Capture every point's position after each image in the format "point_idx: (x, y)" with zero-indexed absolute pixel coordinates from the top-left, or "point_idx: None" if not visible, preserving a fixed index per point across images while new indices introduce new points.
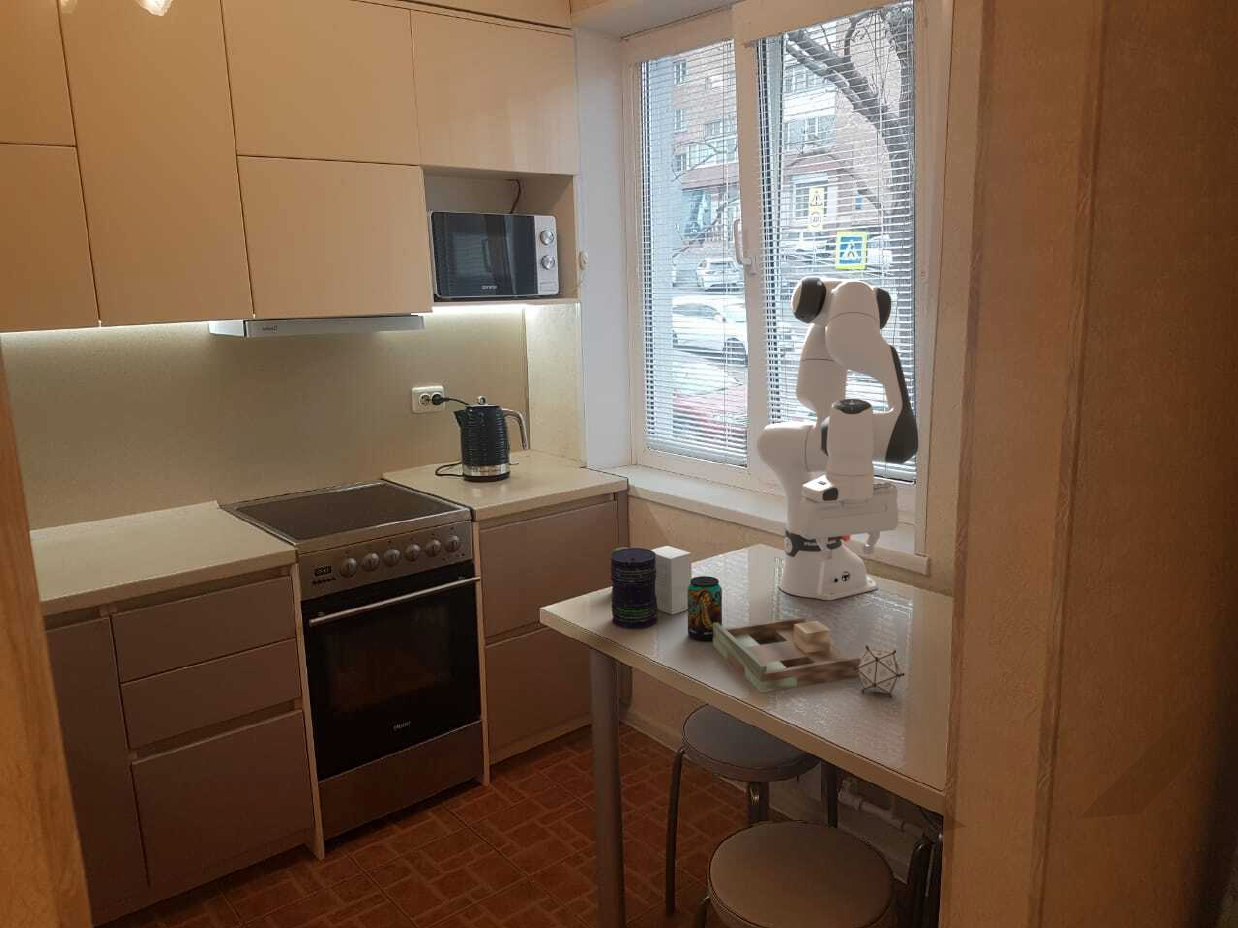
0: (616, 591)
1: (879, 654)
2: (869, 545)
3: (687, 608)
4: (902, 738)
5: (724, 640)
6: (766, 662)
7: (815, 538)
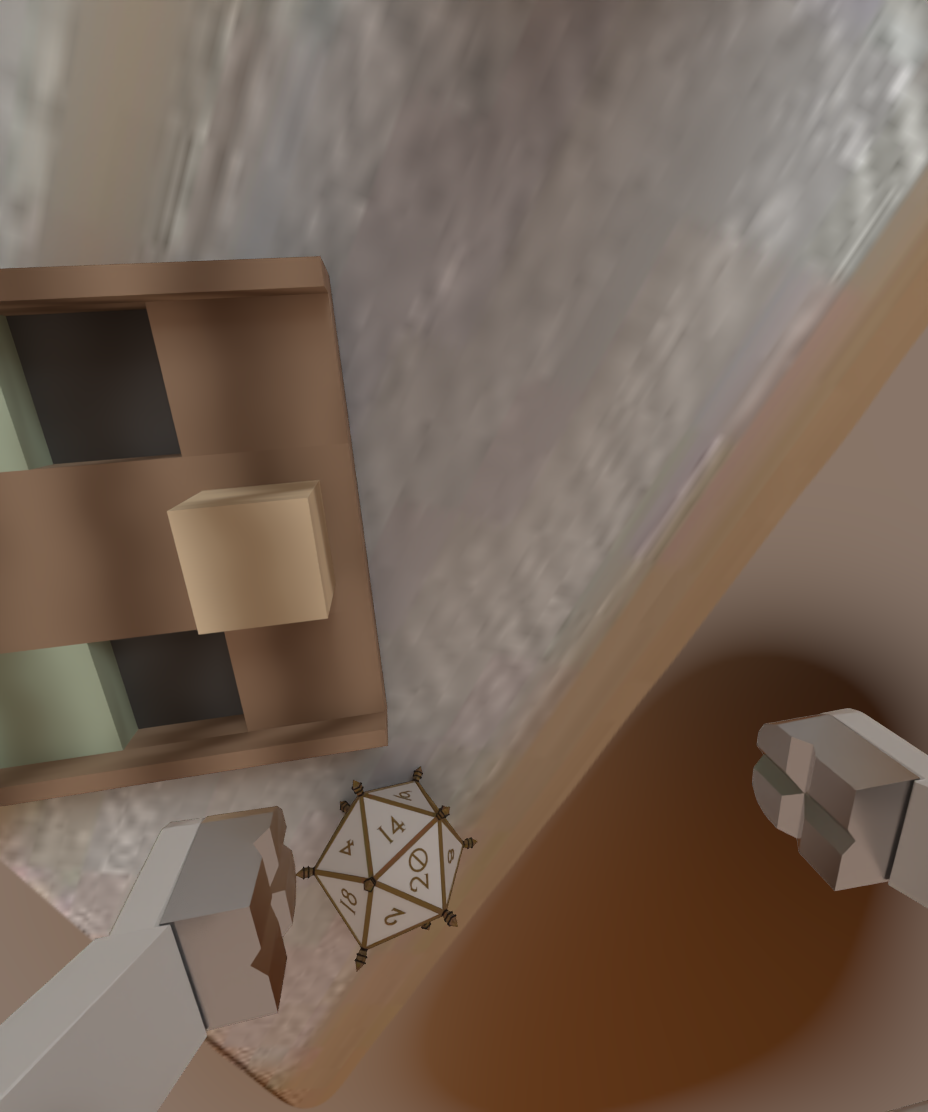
0: None
1: (392, 917)
2: (881, 863)
3: None
4: (338, 990)
5: None
6: (28, 643)
7: None
